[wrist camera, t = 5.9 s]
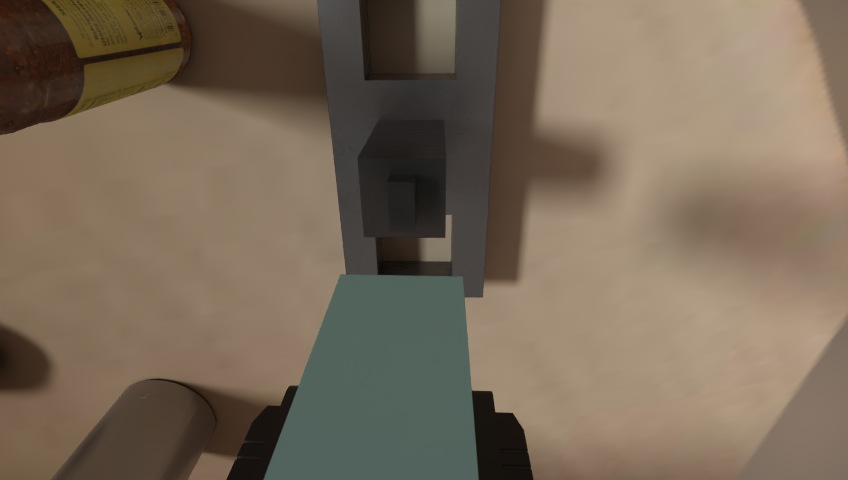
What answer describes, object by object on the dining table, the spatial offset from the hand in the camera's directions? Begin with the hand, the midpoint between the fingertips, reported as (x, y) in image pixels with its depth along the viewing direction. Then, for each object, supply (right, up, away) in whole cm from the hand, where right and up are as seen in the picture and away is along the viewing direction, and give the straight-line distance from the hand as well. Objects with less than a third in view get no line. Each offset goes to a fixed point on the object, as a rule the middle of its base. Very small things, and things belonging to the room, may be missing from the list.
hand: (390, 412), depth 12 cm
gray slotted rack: (0, +12, +19) cm, 22 cm away
